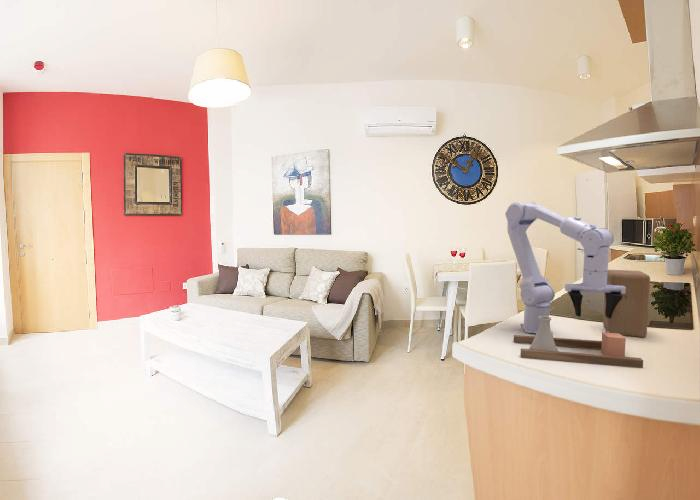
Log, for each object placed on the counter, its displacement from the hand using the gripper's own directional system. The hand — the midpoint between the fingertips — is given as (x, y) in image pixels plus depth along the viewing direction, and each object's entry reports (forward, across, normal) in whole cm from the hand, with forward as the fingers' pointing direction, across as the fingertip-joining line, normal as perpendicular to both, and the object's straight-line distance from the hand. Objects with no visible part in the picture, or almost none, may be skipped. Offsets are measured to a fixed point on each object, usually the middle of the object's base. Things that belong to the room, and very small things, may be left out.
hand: (593, 316), depth 100 cm
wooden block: (+10, +15, +18) cm, 25 cm away
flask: (+10, -14, -6) cm, 18 cm away
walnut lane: (+9, -7, -6) cm, 13 cm away
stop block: (+9, +3, -6) cm, 11 cm away
